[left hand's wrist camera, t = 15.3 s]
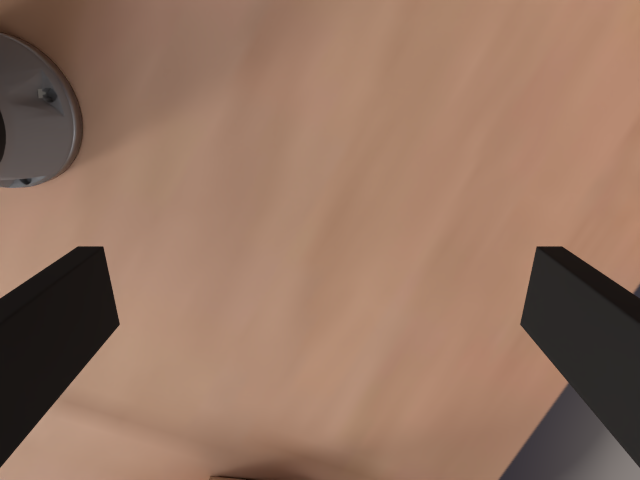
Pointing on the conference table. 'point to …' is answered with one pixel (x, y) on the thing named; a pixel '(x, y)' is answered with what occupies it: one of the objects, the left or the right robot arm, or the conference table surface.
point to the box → (220, 479)
